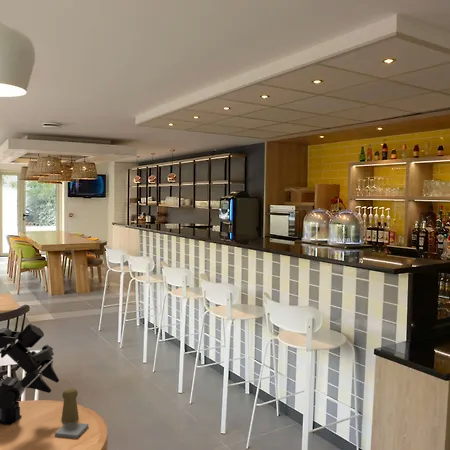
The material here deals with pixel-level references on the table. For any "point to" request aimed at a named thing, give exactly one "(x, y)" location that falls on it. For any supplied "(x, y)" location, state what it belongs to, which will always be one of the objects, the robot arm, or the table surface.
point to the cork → (70, 406)
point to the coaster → (71, 430)
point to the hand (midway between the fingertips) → (54, 386)
